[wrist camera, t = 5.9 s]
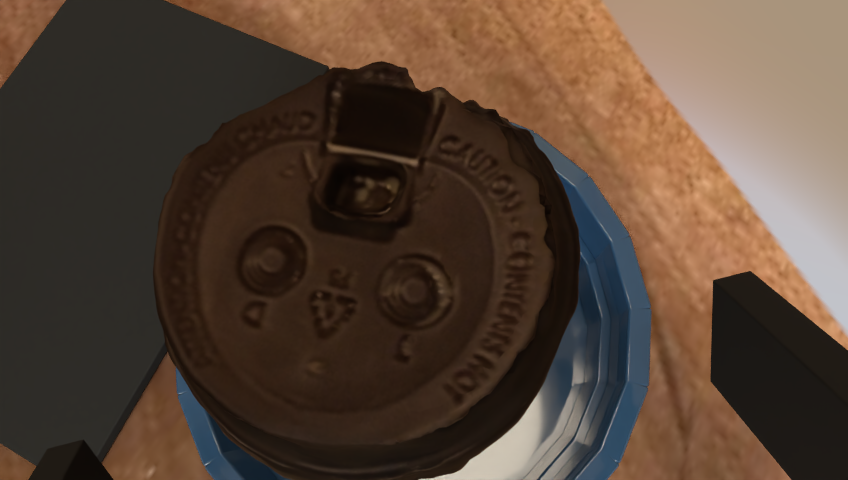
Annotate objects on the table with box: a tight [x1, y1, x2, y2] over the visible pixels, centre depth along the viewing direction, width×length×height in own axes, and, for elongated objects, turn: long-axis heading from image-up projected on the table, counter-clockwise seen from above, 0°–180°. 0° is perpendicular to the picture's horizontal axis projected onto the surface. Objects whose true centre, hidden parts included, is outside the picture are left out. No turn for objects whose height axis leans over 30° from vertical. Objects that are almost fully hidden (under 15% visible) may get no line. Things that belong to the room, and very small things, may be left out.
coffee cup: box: [153, 61, 580, 480], centre depth 16 cm, size 9×8×13 cm
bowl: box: [176, 122, 652, 480], centre depth 20 cm, size 15×15×5 cm
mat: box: [0, 0, 329, 466], centre depth 25 cm, size 14×20×1 cm
